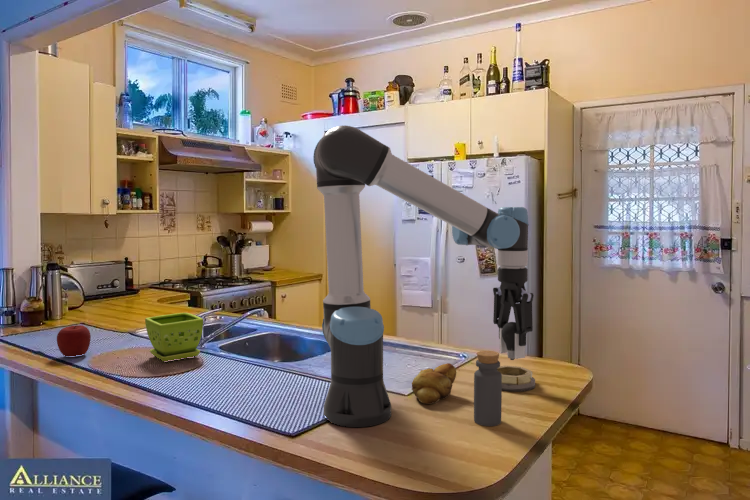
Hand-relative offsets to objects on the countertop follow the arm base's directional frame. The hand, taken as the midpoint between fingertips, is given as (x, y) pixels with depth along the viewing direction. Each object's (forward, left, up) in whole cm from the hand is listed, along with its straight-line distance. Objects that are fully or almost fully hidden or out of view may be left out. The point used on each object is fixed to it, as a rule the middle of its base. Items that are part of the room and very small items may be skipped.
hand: (512, 354), depth 144 cm
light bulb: (0, 0, -2) cm, 2 cm away
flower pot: (-78, +67, -8) cm, 103 cm away
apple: (-107, +82, -8) cm, 135 cm away
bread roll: (-24, 0, -8) cm, 26 cm away
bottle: (-21, -18, -8) cm, 29 cm away
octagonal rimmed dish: (0, 0, -8) cm, 8 cm away
